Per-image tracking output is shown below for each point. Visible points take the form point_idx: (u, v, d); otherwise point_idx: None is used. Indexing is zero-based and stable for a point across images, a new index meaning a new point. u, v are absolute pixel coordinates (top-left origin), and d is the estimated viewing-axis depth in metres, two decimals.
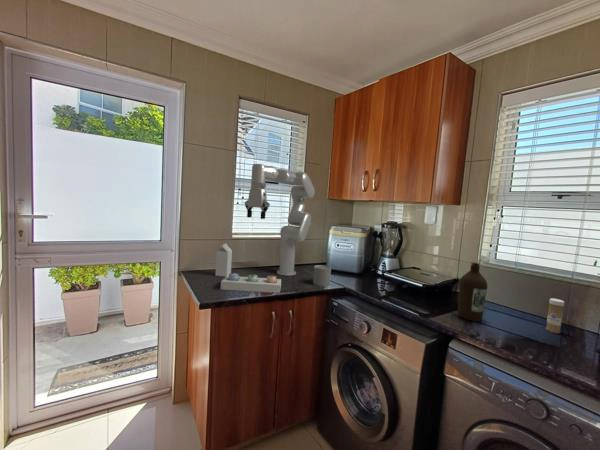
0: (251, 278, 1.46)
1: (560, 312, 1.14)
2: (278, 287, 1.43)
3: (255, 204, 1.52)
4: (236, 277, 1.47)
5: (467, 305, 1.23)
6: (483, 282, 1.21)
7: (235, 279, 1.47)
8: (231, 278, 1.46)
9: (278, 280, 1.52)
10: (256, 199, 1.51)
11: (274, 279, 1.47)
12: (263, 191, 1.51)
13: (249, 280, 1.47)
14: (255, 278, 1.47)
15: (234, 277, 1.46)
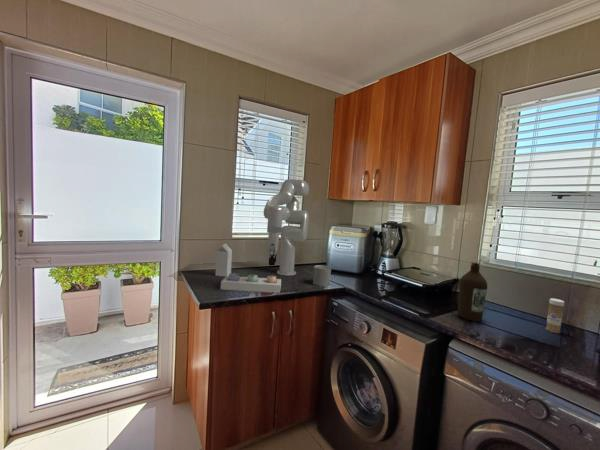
0: (251, 278, 1.46)
1: (560, 312, 1.14)
2: (278, 287, 1.43)
3: (277, 248, 1.49)
4: (236, 277, 1.47)
5: (467, 305, 1.23)
6: (483, 282, 1.21)
7: (235, 279, 1.47)
8: (231, 278, 1.46)
9: (278, 280, 1.52)
10: None
11: (274, 279, 1.47)
12: None
13: (249, 280, 1.47)
14: (255, 278, 1.47)
15: (234, 277, 1.46)
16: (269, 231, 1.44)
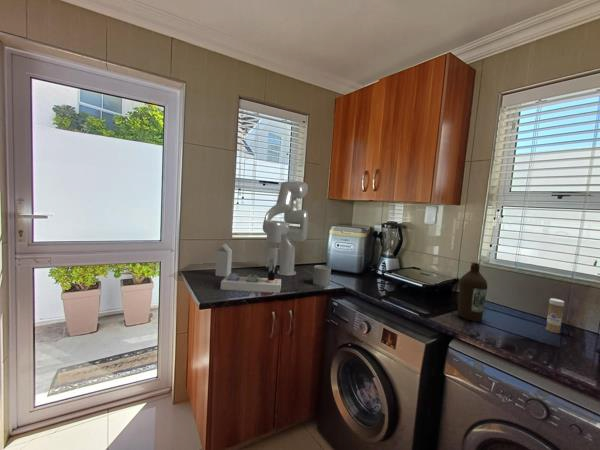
0: (251, 278, 1.46)
1: (560, 312, 1.14)
2: (278, 287, 1.43)
3: (276, 263, 1.49)
4: (236, 277, 1.47)
5: (467, 305, 1.23)
6: (483, 282, 1.21)
7: (235, 279, 1.47)
8: (231, 278, 1.46)
9: (278, 280, 1.52)
10: None
11: (274, 282, 1.47)
12: None
13: (249, 280, 1.47)
14: (255, 278, 1.47)
15: (234, 277, 1.46)
16: (268, 246, 1.44)
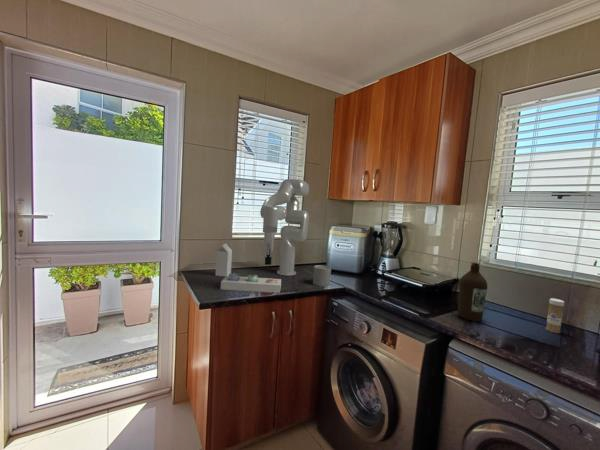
0: (251, 278, 1.46)
1: (560, 312, 1.14)
2: (278, 287, 1.43)
3: None
4: (236, 277, 1.47)
5: (467, 305, 1.23)
6: (483, 282, 1.21)
7: (235, 279, 1.47)
8: (231, 278, 1.46)
9: (278, 280, 1.52)
10: None
11: None
12: None
13: (249, 280, 1.47)
14: (255, 278, 1.47)
15: (234, 277, 1.46)
16: (265, 231, 1.44)
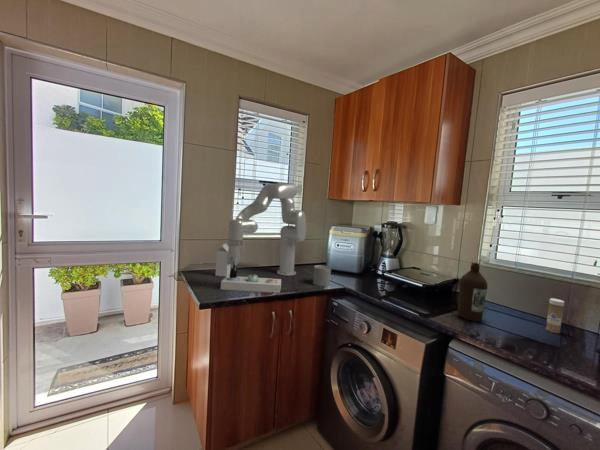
0: (251, 278, 1.46)
1: (560, 312, 1.14)
2: (278, 287, 1.43)
3: (238, 261, 1.49)
4: (236, 280, 1.47)
5: (467, 305, 1.23)
6: (483, 282, 1.21)
7: None
8: None
9: (278, 280, 1.52)
10: (239, 255, 1.49)
11: None
12: None
13: (249, 280, 1.47)
14: (255, 278, 1.47)
15: (234, 280, 1.46)
16: (229, 244, 1.44)
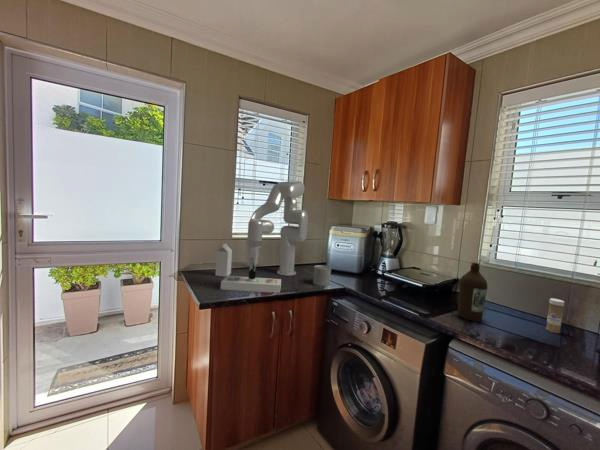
0: (251, 281, 1.46)
1: (560, 312, 1.14)
2: (278, 287, 1.43)
3: (257, 261, 1.49)
4: (236, 280, 1.47)
5: (467, 305, 1.23)
6: (483, 282, 1.21)
7: None
8: None
9: (278, 280, 1.52)
10: (258, 256, 1.49)
11: None
12: None
13: None
14: (255, 281, 1.47)
15: None
16: (249, 245, 1.44)
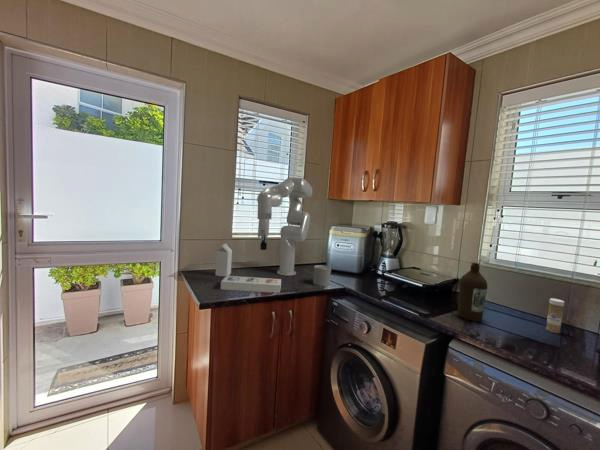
0: None
1: (560, 312, 1.14)
2: (278, 287, 1.43)
3: (268, 233, 1.54)
4: (236, 280, 1.47)
5: (467, 305, 1.23)
6: (483, 282, 1.21)
7: None
8: None
9: (278, 280, 1.52)
10: None
11: None
12: None
13: None
14: None
15: None
16: (259, 217, 1.49)
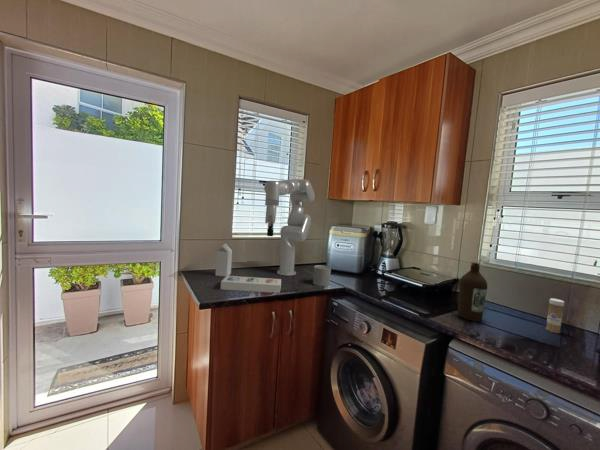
0: None
1: (560, 312, 1.14)
2: (278, 287, 1.43)
3: None
4: (236, 280, 1.47)
5: (467, 305, 1.23)
6: (483, 282, 1.21)
7: None
8: None
9: (278, 280, 1.52)
10: None
11: None
12: None
13: None
14: None
15: None
16: (267, 204, 1.53)
